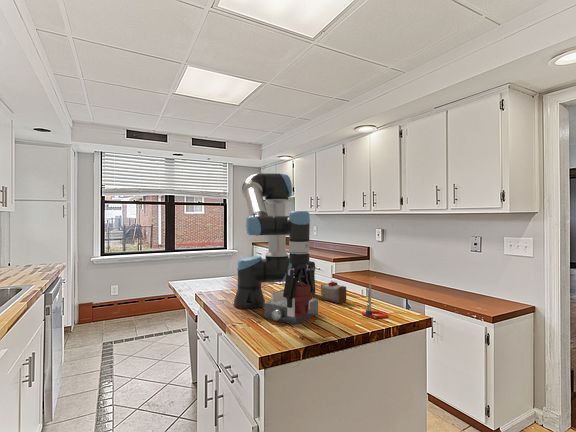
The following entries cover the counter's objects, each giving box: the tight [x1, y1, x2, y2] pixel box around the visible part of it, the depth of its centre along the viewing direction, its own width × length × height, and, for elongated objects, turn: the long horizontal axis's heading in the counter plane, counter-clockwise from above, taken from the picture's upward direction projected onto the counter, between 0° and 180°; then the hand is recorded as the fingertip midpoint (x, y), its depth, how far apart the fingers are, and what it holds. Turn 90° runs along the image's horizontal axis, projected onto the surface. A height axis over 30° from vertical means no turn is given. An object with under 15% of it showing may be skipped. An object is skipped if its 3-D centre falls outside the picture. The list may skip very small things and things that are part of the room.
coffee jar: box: [298, 260, 316, 295], centre depth 183 cm, size 10×8×19 cm
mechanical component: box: [286, 281, 314, 319], centre depth 121 cm, size 12×10×10 cm
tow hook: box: [361, 284, 388, 320], centre depth 143 cm, size 9×14×10 cm
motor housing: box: [264, 289, 319, 326], centre depth 141 cm, size 16×21×10 cm
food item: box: [320, 281, 347, 305], centre depth 168 cm, size 14×8×10 cm, turn 42°
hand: (299, 312), depth 121 cm, fingers closed on mechanical component, 10 cm apart
